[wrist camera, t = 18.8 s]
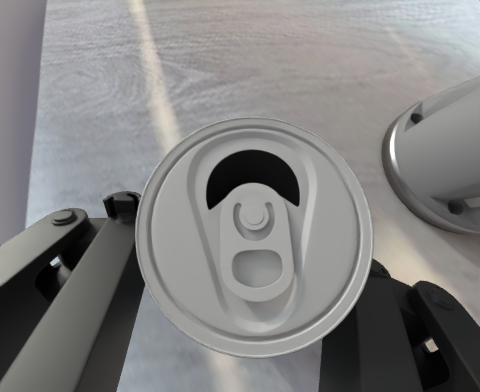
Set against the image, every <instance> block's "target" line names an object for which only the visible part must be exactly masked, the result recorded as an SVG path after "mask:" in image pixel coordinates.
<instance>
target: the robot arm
mask: <svg viewBox="0 0 480 392" xmlns="http://www.w3.org/2000/svg"><path fill="white" fill-rule="evenodd" d="M382 161H383V166H384V170H385V173H386V176H387V178H388V181H389V183H390V185H391V186H392V188H393V190H394V191H395V193H396V194H397V195H398V197H399V198H400V199H401V200H402V201H403V203H404V204H405V205H406V206H407V207H408V208H409V209H410V210H412V211H413V212H414V213H415V214H417V215H418V216H419V217H421V218H422V219H424V220H425V221H427V222H429V223H431V224H433V225H435V226H437V227H439V228H442V229H444V230H448V231H451V232H455V233H460V234H480V76H478V77H476V78H473V79H471V80H469V81H466V82H464V83H462V84H459V85H457V86H455V87H452V88H450V89H447V90H445V91H443V92H440V93H438V94H436V95H433V96H431V97H429V98H427V99H425V100H423V101H420V102H419V103H417V104H415V105H414V106H412V107H411V108H410V109H408V110H407V111H406V112H404V113H403V114H402V115H400V116H399V117H398V118H397V119H396V120H395V121H394V122H393V123H392V124H391V125H390V127H389V128H388V130H387V132H386V134H385V137H384V140H383V145H382ZM141 197H142V196H141V195H140V194H138V193H136V192H130V191H126V192H118V193H114V194H112V195H109V196H107V197H106V198H105V199H104V200H103V202H104V205H105V208H106V211H107V215H108V218H88V215H87V213H86V212H85V210H82V209H79V208H69V209H63V210H60V211H56V212H54V213H52V214H50V215H48V216H46V217H44V218H43V219H41V220H40V221H38V222H36V223H35V224H33V225H32V226H30V227H29V228H27V229H25V230H24V231H22V232H21V233H19V234H18V235H16V236H15V237H13V238H11V239H10V240H8V241H7V242H5V243H4V244H2V245H0V392H116V391H117V387H118V383H119V380H120V376H121V372H122V369H123V365H124V361H125V357H126V354H127V350H128V346H129V342H130V339H131V335H132V331H133V328H134V324H135V320H136V316H137V313H138V309H139V305H140V301H141V298H142V294H143V290H144V287H145V282H144V279H143V277H142V273H141V270H140V267H139V263H138V258H137V251H136V240H135V226H136V217H137V212H138V207H139V203H140V199H141ZM57 256H58V258H59V260H60V261H59V262H58V263H57V264H55V265H54V266H51V264H50V262H51V261H52V260H53V259H55V258H56V257H57ZM431 339H433V341H434V342H435V344H436V346H437V347H438V350H437V351H435V352H431V351H429V349H428V348H427V346H426V345H425V343H426V342H427V341H429V340H431ZM319 392H480V327H479V326H478V324H477V323H476V322H475V321H474V320H473V318H472V317H471V316H470V315H469V313H468V312H467V311H466V310H465V308H464V307H463V306H462V305H461V304H460V303H459V302H458V301H457V300H456V299H455V298H454V297H453V296H452V295H451V294H449V293H448V292H447V291H446V290H444V289H443V288H441V287H439V286H437V285H435V284H433V283H430V282H428V281H419V282H417V283H416V284H414V285H413V286H412V287H411V286H409V285H407V284H404V283H402V282H400V281H398V280H395V279H393V278H391V276H390V274H389V272H388V271H387V270H386V269H385V267H384V266H383V265H381V264H380V263H379V262H378V261H376V260H374V259H372V262H371V268H370V271H369V275H368V278H367V281H366V283H365V286H364V289H363V291H362V293H361V295H360V297H359V299H358V300H357V302H356V303H355V305H354V307H353V308H352V310H351V311H350V312H349V313H348V315H347V316H346V317H345V318H344V319H343V321H342V322H341V323H340V324H339V325H338V326H337V327H336V328H334V329H333V330H332V331H331V332H330V333H329V334H327V335H326V336H324V337H323V341H322V354H321V367H320V380H319Z"/></svg>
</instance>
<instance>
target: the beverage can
mask: <svg viewBox="0 0 480 392" xmlns="http://www.w3.org/2000/svg"><path fill="white" fill-rule="evenodd" d="M135 240H136V251H137V258H138V263H139V267H140V270H141V273H142V277H143V279H144V282H145V284H146V286H147V289H148V290H149V292H150V294H151V296H152V298H153V300H154V301H155V303H156V304H157V306H158V307H159V309H160V310H161V311H162V312H163V314H164V315H165V316H166V317H167V318H168V319H169V320H170V321H171V322H172V323H173V325H175V326H176V327H177V328H178V329H179V330H180V331H182V332H183V333H184V334H185V335H187V336H188V337H190V338H191V339H193V340H194V341H196V342H198V343H200V344H201V345H203V346H205V347H207V348H209V349H212V350H214V351H217V352H220V353H223V354H227V355H231V356H235V357H241V358H256V359H263V358H271V357H278V356H283V355H287V354H291V353H294V352H296V351H299V350H302V349H304V348H306V347H308V346H310V345H312V344H314V343H315V342H317V341H319V340H320V339H322V338H323V337H324V336H326V335H327V334H329V333H330V332H331V331H332V330H333V329H334V328H336V327H337V326H338V325H339V324H340V323H341V322H342V321H343V319H344V318H345V317H346V316H347V315H348V313H349V312H350V311H351V310H352V308H353V307H354V305H355V303H356V302H357V300H358V299H359V297H360V295H361V293H362V291H363V289H364V286H365V283H366V281H367V278H368V275H369V271H370V268H371V262H372V257H373V247H374V233H373V222H372V216H371V211H370V207H369V204H368V201H367V198H366V195H365V193H364V190H363V188H362V186H361V184H360V182H359V180H358V178H357V176H356V175H355V173H354V172H353V170H352V169H351V167H350V166H349V165H348V163H347V162H346V161H345V159H344V158H343V157H342V156H341V155H340V154H339V153H338V152H337V151H336V150H335V149H334V148H333V147H332V146H331V145H329V144H328V143H327V142H325V141H324V140H323V139H322V138H320V137H319V136H317V135H316V134H314V133H312V132H310V131H308V130H306V129H304V128H301V127H299V126H297V125H295V124H292V123H290V122H287V121H283V120H279V119H274V118H269V117H257V116H247V117H237V118H230V119H225V120H222V121H218V122H215V123H212V124H209V125H207V126H205V127H203V128H200V129H199V130H197V131H195V132H193V133H192V134H190V135H188V136H187V137H185V138H184V139H183V140H181V141H180V142H179V143H178V144H176V145H175V146H174V147H173V148H172V149H171V150H170V151H169V152H168V153H167V154H166V155H165V156H164V158H163V159H162V160H161V161H160V163H159V164H158V165H157V166H156V168H155V170H154V171H153V173H152V175H151V176H150V178H149V180H148V182H147V184H146V186H145V188H144V191H143V194H142V197H141V199H140V203H139V207H138V212H137V217H136V226H135Z"/></svg>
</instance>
